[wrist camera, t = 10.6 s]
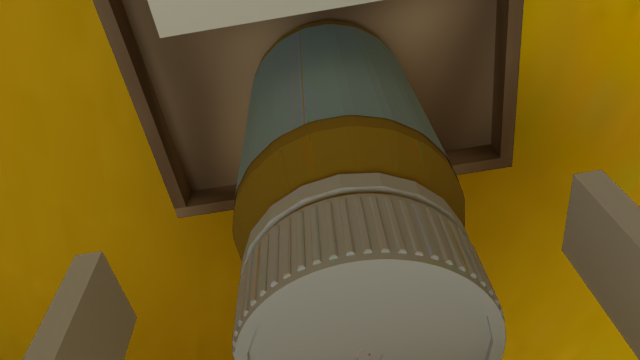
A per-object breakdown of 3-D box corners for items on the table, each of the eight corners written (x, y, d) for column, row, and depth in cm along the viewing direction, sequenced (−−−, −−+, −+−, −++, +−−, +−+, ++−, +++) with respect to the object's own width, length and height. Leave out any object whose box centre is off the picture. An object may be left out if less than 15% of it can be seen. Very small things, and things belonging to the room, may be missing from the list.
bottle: (223, 63, 23) (144, 324, 10) (363, -14, 21) (469, 182, 9) (298, 175, 26) (307, 472, 14) (422, 116, 25) (559, 389, 12)
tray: (185, 195, 27) (178, 218, 26) (55, -154, 19) (32, -154, 17) (498, 146, 27) (512, 166, 25) (517, -241, 18) (541, -249, 16)
